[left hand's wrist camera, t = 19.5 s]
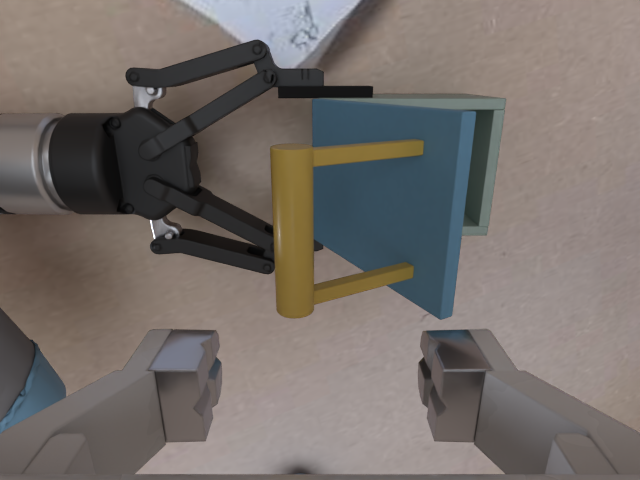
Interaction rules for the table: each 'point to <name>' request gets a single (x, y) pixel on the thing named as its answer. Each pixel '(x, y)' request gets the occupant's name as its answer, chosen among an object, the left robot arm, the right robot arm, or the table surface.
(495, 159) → the chest
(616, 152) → the table surface
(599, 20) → the table surface
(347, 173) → the lid
